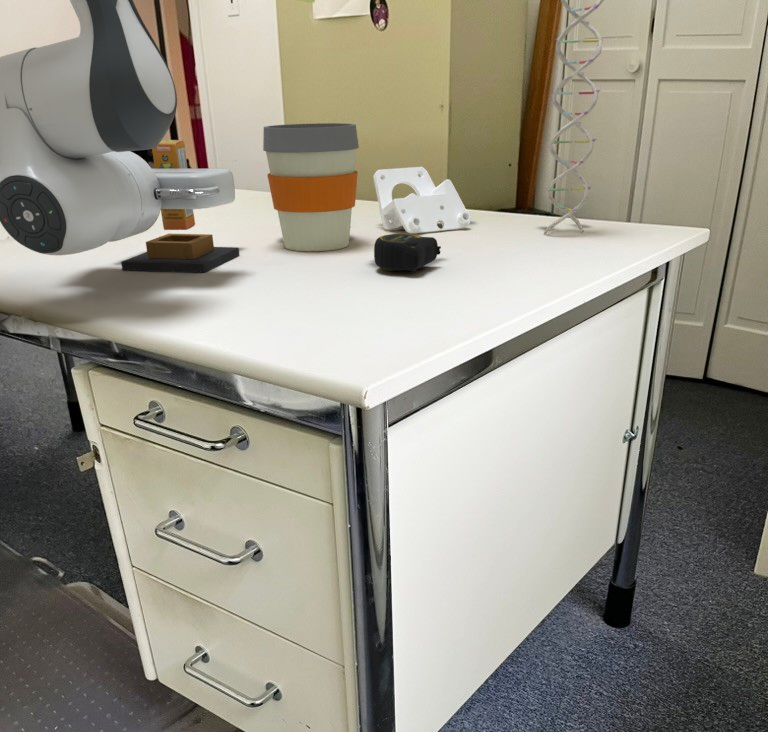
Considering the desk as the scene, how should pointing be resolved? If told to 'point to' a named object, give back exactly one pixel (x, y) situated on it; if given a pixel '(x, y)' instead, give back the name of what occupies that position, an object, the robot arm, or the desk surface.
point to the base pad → (181, 254)
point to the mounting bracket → (419, 202)
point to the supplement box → (173, 157)
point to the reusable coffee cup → (313, 182)
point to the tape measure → (405, 251)
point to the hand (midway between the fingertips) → (176, 180)
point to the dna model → (575, 121)
